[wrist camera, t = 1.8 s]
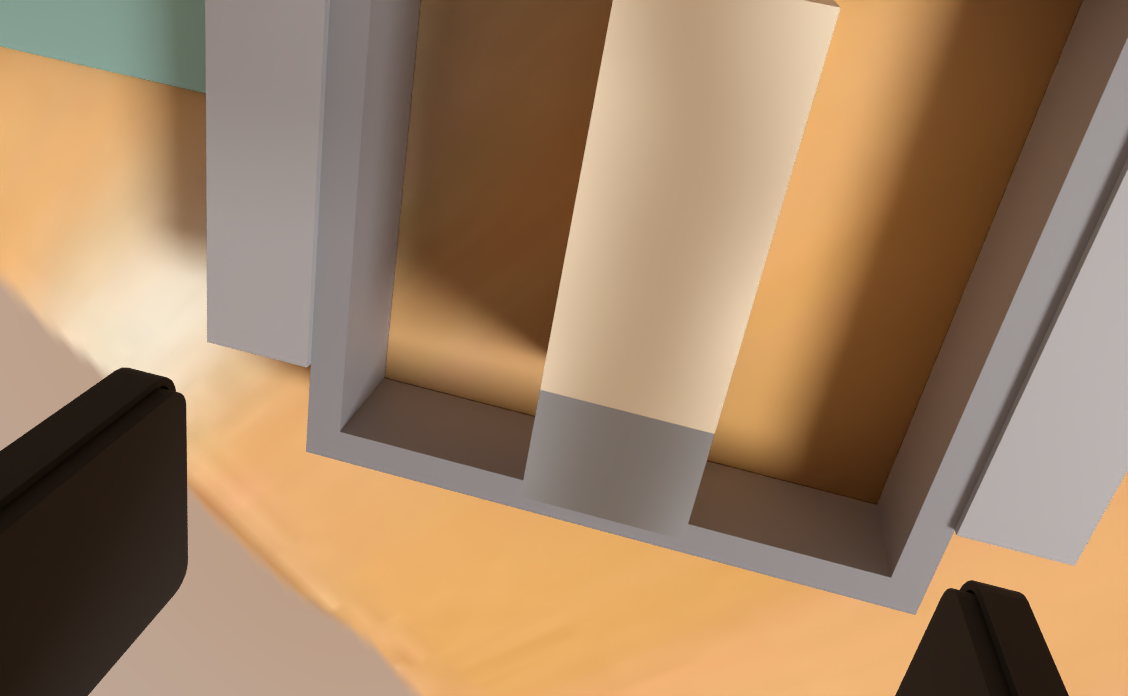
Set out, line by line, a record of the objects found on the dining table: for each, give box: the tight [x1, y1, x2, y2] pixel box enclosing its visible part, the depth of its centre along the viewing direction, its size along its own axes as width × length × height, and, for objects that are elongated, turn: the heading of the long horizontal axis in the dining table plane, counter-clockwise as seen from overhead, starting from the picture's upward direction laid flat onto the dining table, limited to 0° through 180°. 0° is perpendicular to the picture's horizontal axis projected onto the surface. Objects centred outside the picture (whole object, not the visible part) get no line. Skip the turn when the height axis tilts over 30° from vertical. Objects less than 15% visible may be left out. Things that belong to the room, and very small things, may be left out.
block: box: [520, 0, 840, 540], centre depth 22 cm, size 4×12×7 cm, turn 169°
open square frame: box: [205, 0, 1128, 615], centre depth 23 cm, size 24×18×4 cm
